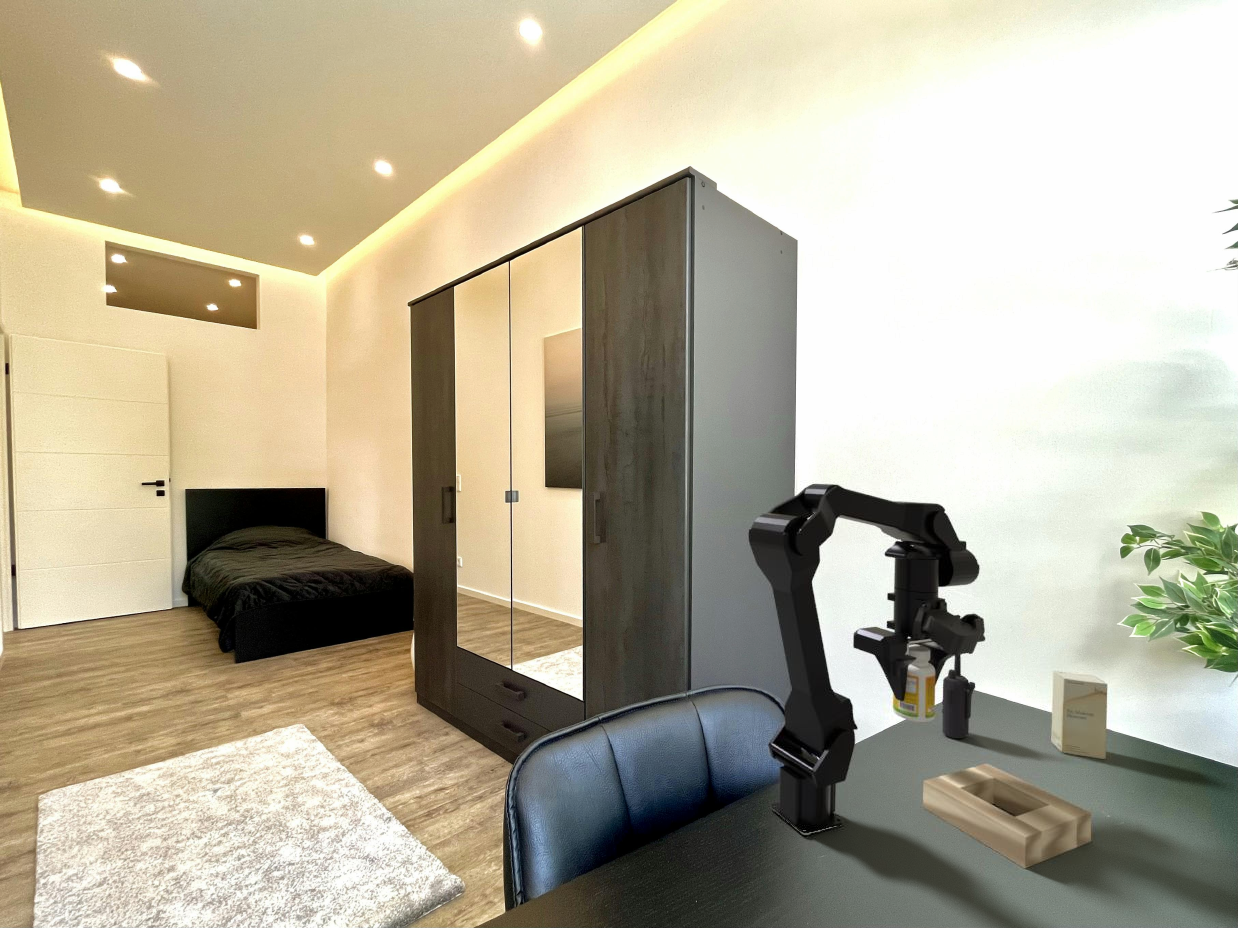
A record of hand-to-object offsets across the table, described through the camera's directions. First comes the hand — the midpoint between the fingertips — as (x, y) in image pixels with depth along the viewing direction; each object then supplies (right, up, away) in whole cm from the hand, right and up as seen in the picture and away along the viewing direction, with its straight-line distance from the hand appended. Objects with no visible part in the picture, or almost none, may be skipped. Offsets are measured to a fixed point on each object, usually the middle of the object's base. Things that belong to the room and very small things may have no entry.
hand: (913, 697), depth 84 cm
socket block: (+7, -13, -9) cm, 17 cm away
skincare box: (+33, -14, +12) cm, 38 cm away
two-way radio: (+16, -14, +16) cm, 27 cm away
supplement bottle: (0, -3, 0) cm, 3 cm away
